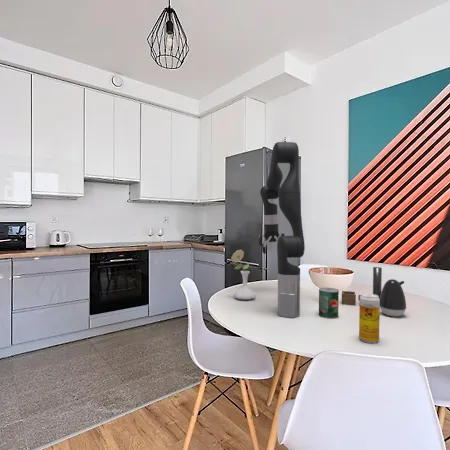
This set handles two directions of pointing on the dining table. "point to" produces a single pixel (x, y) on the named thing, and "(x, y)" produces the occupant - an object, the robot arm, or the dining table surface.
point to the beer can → (369, 318)
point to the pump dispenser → (393, 298)
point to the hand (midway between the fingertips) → (272, 253)
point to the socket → (348, 298)
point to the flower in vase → (244, 291)
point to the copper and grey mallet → (376, 281)
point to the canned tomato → (328, 303)
